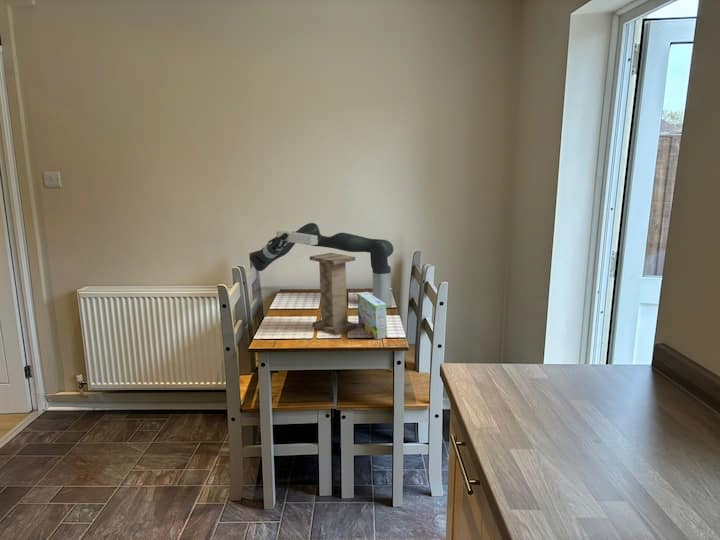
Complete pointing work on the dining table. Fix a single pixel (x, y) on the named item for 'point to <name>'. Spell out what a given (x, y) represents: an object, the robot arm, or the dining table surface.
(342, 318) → the stand
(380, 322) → the snack box
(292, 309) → the dining table surface
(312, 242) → the bar
